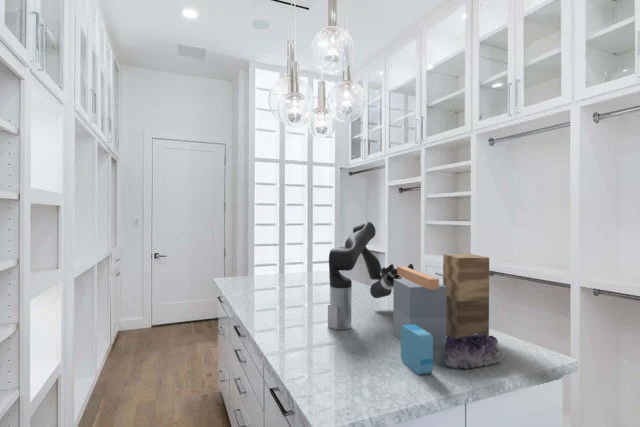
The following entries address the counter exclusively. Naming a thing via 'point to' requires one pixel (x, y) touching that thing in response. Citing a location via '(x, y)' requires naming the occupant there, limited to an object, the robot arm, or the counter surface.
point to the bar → (418, 278)
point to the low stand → (420, 309)
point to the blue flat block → (417, 349)
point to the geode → (470, 352)
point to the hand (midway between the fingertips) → (402, 266)
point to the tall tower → (466, 294)
